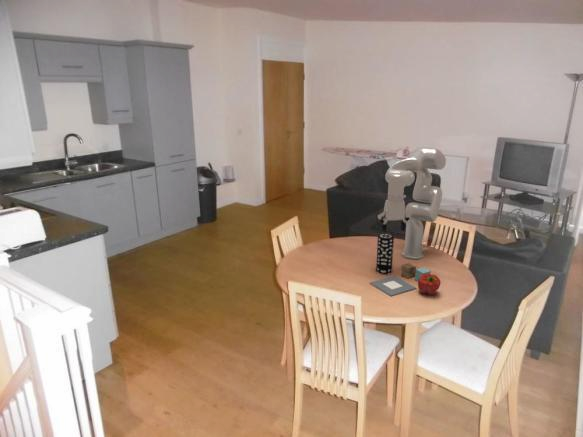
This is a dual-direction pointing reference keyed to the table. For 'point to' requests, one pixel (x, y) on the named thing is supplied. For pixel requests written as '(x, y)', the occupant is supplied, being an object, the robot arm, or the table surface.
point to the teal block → (421, 272)
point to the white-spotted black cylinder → (384, 253)
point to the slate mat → (392, 285)
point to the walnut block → (408, 270)
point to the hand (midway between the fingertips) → (393, 230)
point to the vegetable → (428, 283)
